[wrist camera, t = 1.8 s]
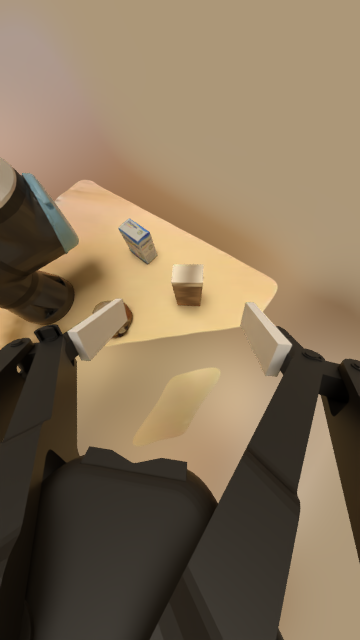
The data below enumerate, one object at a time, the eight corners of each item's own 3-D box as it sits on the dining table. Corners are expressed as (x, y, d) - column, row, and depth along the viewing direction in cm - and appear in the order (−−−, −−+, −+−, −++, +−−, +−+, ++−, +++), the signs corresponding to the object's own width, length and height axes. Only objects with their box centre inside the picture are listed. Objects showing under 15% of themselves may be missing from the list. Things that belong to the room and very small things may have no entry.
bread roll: (136, 309, 43) (123, 288, 37) (135, 335, 36) (120, 315, 30) (106, 317, 43) (88, 298, 37) (99, 345, 36) (76, 327, 30)
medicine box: (131, 252, 44) (116, 227, 36) (140, 242, 45) (129, 216, 37) (148, 265, 43) (137, 242, 34) (158, 255, 43) (149, 230, 35)
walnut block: (177, 305, 38) (171, 282, 27) (178, 291, 39) (173, 264, 28) (199, 305, 37) (202, 282, 26) (200, 292, 39) (203, 264, 27)
